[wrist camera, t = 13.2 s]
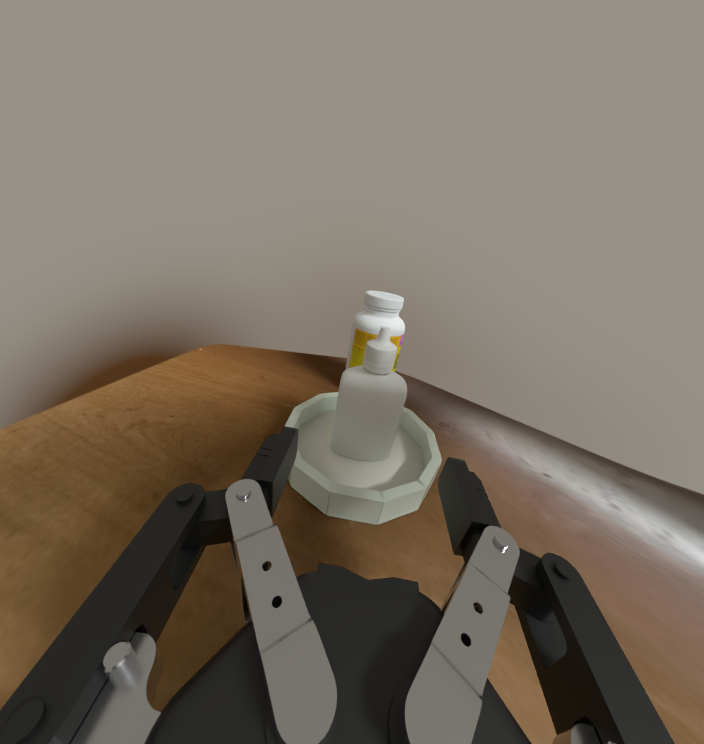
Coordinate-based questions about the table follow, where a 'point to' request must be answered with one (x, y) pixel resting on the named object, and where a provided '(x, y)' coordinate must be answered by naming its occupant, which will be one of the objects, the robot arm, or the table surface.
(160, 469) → the table surface
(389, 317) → the supplement bottle
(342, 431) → the eye dropper bottle
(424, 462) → the dish
